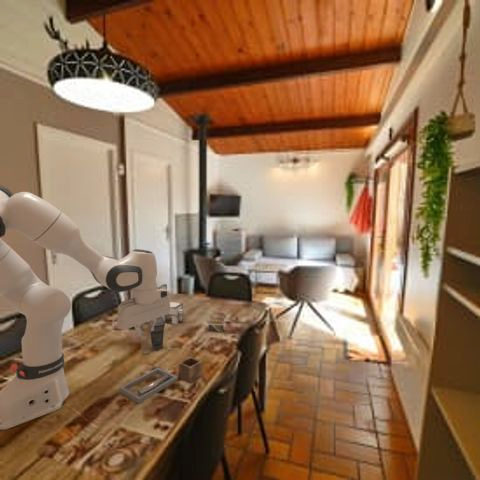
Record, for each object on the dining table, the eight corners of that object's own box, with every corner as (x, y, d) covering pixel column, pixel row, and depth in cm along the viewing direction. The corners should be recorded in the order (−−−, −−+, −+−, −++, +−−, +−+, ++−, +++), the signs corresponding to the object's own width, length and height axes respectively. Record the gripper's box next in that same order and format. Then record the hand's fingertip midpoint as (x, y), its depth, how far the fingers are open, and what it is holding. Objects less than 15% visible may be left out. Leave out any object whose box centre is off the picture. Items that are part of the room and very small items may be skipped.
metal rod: (142, 397, 105) (141, 390, 105) (138, 396, 106) (137, 388, 106) (170, 381, 115) (169, 374, 115) (165, 380, 116) (164, 373, 116)
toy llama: (180, 325, 170) (179, 289, 168) (152, 321, 175) (151, 286, 173) (186, 321, 177) (186, 286, 175) (159, 317, 182) (159, 283, 180)
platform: (231, 337, 157) (231, 325, 156) (196, 335, 158) (195, 323, 158) (234, 328, 168) (234, 316, 168) (201, 326, 170) (201, 315, 169)
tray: (139, 405, 102) (139, 399, 102) (119, 393, 109) (119, 387, 108) (178, 382, 116) (177, 376, 116) (158, 372, 122) (158, 367, 122)
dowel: (145, 356, 110) (144, 326, 109) (140, 353, 112) (139, 323, 110) (152, 352, 112) (151, 323, 111) (147, 350, 114) (146, 321, 113)
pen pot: (190, 385, 114) (190, 368, 113) (178, 379, 118) (178, 362, 117) (202, 377, 119) (202, 361, 118) (190, 372, 123) (190, 356, 122)
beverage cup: (161, 352, 139) (160, 308, 137) (146, 350, 140) (145, 307, 138) (168, 345, 146) (167, 303, 144) (153, 344, 147) (152, 302, 145)
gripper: (123, 304, 99) (125, 346, 101) (172, 290, 116) (173, 326, 117) (112, 301, 103) (113, 341, 105) (161, 287, 120) (162, 322, 121)
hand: (145, 333), depth 111 cm, fingers closed on dowel, 3 cm apart
